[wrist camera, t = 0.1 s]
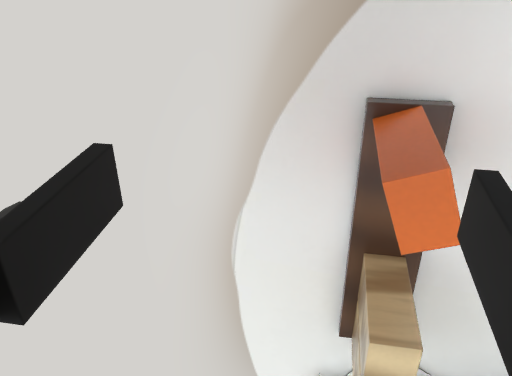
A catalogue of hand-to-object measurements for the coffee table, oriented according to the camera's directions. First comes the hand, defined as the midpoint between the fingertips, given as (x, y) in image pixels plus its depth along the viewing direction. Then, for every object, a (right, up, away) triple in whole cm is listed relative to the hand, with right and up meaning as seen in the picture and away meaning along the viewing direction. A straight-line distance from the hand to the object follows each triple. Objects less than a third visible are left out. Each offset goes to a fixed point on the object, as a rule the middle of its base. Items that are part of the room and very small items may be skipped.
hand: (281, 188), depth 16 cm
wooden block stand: (+10, -4, +22) cm, 25 cm away
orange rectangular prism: (+10, +3, +17) cm, 20 cm away
